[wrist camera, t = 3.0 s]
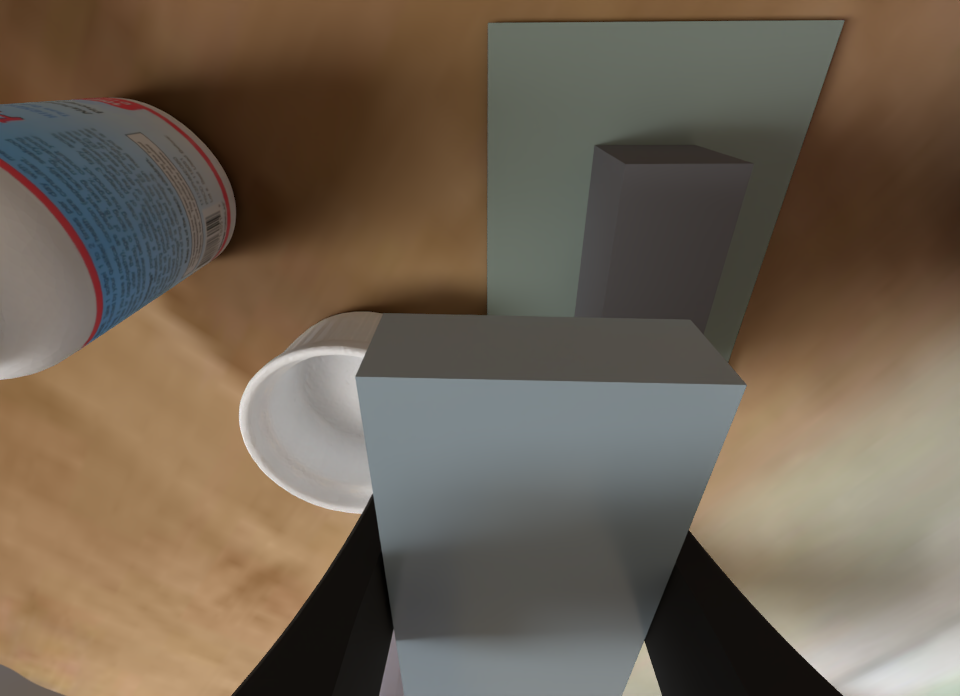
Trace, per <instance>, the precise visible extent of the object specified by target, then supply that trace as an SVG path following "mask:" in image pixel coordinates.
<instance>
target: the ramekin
mask: <svg viewBox="0 0 960 696" xmlns="http://www.w3.org/2000/svg"><path fill="white" fill-rule="evenodd" d="M382 315H383V314H382V313H376V312H368V311H367V312H348V313H342V314H338V315H334V316H331V317H329V318H326V319H324V320H322V321H320V322H318V323H317V324H315V325H313V326H312V327H310V328H309V329H308V330H306V331H305V332H304V333H303V334H302V335H300V336H299V337H298V338H297V339H296V340H295V341H294V342H293V343H292V344H291V345H290V346H289V347H288V348H287V349H286V350H285V351H284V352H283V353H282V354H280V355H279V356H277V357H276V358H274V359H273V360H271V361H270V362H268V363H267V364H266V365H265V366H264V367H263V368H261V369H260V370H259V371H258V372H257V373H256V374H255V376H254V377H253V378H252V379H251V380H250V382H249V383H248V385H247V387H246V389H245V391H244V393H243V396H242V399H241V401H240V409H239V423H240V429H241V433H242V437H243V440H244V442H245V445H246V447H247V449H248V451H249V453H250V455H251V456H252V458H253V459H254V461H255V462H256V463H257V465H258V466H259V468H260V469H261V470H262V471H263V472H264V473H265V474H266V475H267V476H268V477H269V478H271V479H272V480H273V481H274V482H275V483H276V484H278V485H279V486H281V487H282V488H284V489H285V490H286V491H288V492H290V493H291V494H293V495H295V496H297V497H298V498H300V499H302V500H304V501H307V502H309V503H312V504H314V505H317V506H320V507H323V508H327V509H331V510H335V511H341V512H347V513H359V514H362V512H363V511H364V509H365V507H366V505H367V503H368V501H369V499H370V497H371V495H372V494H373V490H372V483H371V477H370V470H369V464H368V457H367V451H366V444H365V438H364V431H363V425H362V418H361V412H360V405H359V399H358V392H357V386H356V379H355V376H356V374H357V371H358V369H359V367H360V365H361V362H362V360H363V358H364V356H365V353H366V351H367V349H368V347H369V344H370V342H371V340H372V337H373V335H374V333H375V331H376V328H377V326H378V324H379V322H380V319H381V317H382Z"/></svg>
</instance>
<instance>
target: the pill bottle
mask: <svg viewBox="0 0 960 696" xmlns="http://www.w3.org/2000/svg"><path fill="white" fill-rule="evenodd" d="M235 222H236V203H235V198H234V194H233V190H232V187H231V184H230V182H229V179H228V177H227V175H226V173H225V171H224V170H223V168H222V166H221V165H220V163H219V162H218V160H217V159H216V157H215V156H214V155H213V153H212V152H211V151H210V150H209V148H208V147H207V146H206V145H205V144H204V143H203V142H202V141H201V140H200V139H199V138H198V137H197V136H196V135H195V134H194V133H193V132H192V131H191V130H189V129H188V128H187V127H186V126H185V125H183V124H182V123H181V122H179V121H178V120H176V119H175V118H173V117H172V116H171V115H169V114H167V113H165V112H164V111H162V110H160V109H158V108H156V107H153V106H151V105H149V104H146V103H143V102H140V101H136V100H132V99H125V98H89V99H74V100H62V101H46V102H30V103H17V104H1V105H0V380H2V379H11V378H16V377H21V376H26V375H31V374H34V373H37V372H40V371H42V370H45V369H47V368H49V367H52V366H54V365H56V364H58V363H60V362H61V361H63V360H64V359H66V358H67V357H69V356H70V355H72V354H74V353H75V352H77V351H78V350H80V349H81V348H83V347H84V346H86V345H87V344H89V343H90V342H92V341H93V340H95V339H96V338H98V337H99V336H101V335H102V334H104V333H105V332H107V331H108V330H110V329H111V328H113V327H114V326H116V325H117V324H119V323H120V322H122V321H123V320H125V319H126V318H128V317H129V316H131V315H132V314H134V313H135V312H136V311H138V310H139V309H141V308H142V307H144V306H145V305H147V304H148V303H150V302H151V301H153V300H154V299H156V298H157V297H159V296H160V295H162V294H163V293H165V292H166V291H168V290H169V289H171V288H172V287H174V286H175V285H177V284H178V283H180V282H181V281H183V280H184V279H186V278H187V277H188V276H190V275H191V274H193V273H194V272H196V271H197V270H199V269H200V268H202V267H203V266H205V265H206V264H208V263H209V262H211V261H212V260H213V259H215V258H216V257H217V256H218V255H219V254H221V253H222V251H223V250H224V249H225V248H226V246H227V245H228V243H229V241H230V239H231V237H232V235H233V231H234V228H235Z"/></svg>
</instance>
